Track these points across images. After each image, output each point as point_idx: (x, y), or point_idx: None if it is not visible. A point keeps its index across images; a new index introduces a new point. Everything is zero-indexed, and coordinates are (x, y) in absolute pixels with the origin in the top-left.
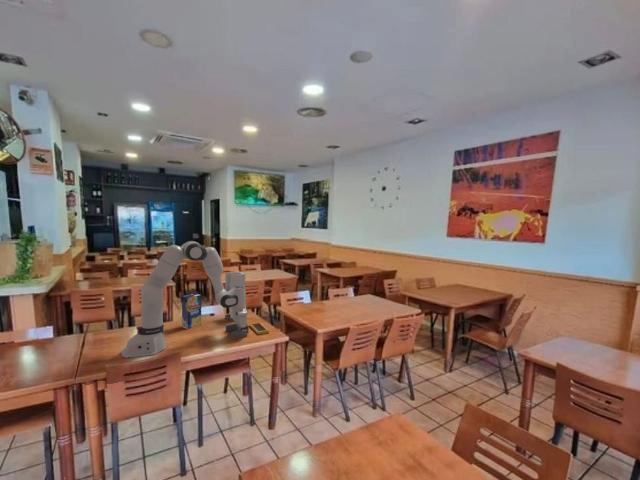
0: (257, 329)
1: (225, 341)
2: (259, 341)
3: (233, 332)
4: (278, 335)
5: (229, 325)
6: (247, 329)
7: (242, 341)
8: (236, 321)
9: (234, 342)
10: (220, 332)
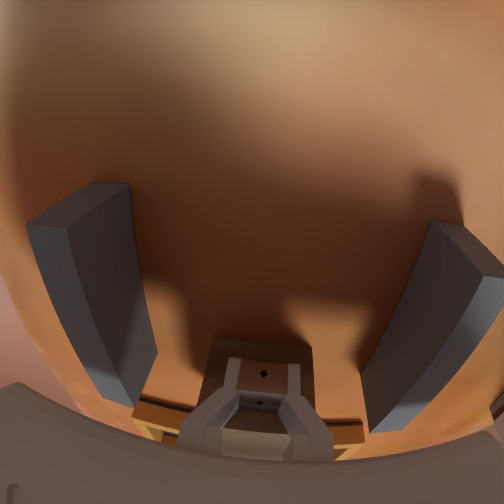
0: None
1: (52, 84)
2: (34, 343)
3: (40, 253)
4: None
5: (459, 328)
6: None
7: (25, 259)
8: (237, 501)
9: (12, 184)
10: (462, 130)
